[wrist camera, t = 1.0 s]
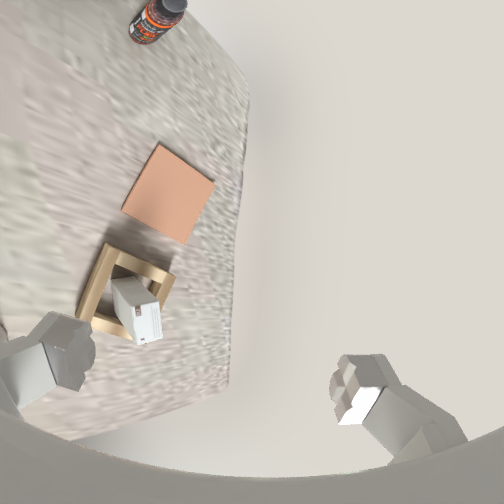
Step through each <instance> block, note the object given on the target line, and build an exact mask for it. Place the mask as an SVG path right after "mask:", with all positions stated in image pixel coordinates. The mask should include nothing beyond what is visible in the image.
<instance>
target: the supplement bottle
mask: <svg viewBox="0 0 504 504" xmlns="http://www.w3.org/2000/svg"><path fill="white" fill-rule="evenodd" d="M186 7H187V0H151V1H150V2H149V3H148V4H147V5H146V6H145V7H144V8H143V9H142V11H141V12H140V13H139V14H138V15H137V16H136V17H135V19H134V20H133V21H132V23H131V24H130V26H129V34H130V37H131V38H132V39H133V40H134V41H135V42H137V43H139V44H151V43H153V42H155V41H156V40H158V39H159V38H160V37H161V36H162V35H164V34H165V33H166V32H167V31H168V30H170V29H171V28H172V27H173V26H174V25H176V24H177V23H178V22H179V21H180V20H181V19H182V17H183V15H184V10H185V9H186Z"/></svg>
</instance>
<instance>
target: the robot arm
mask: <svg viewBox="0 0 504 504" xmlns="http://www.w3.org/2000/svg"><path fill="white" fill-rule="evenodd" d="M91 333H92V327H91V323H90V322H88V321H86V320H82V319H79V318H75V317H72V316H68V315H65V314H61V313H57V312H54V311H51V312H49V313H48V314H47V315H46V316H45V317H44V318H43V319H42V320H41V321H40V322H39V323H38V325H37V326H36V327H35V328H34V329H33V330H32V331H31V332H30V334H29V335H28V336H27V337H25V336H22V337H19V338H16V339H14V340H11V341H8V342H6V343H3V344H0V504H504V426H503V427H501V428H499V429H497V430H495V431H493V432H490V433H488V434H486V435H484V436H481V437H479V438H476V439H474V440H471V441H469V442H468V440H467V438H466V436H465V435H464V433H463V431H462V429H461V427H460V426H459V424H458V422H457V421H456V419H455V417H454V416H452V415H451V414H449V413H447V412H446V411H444V410H443V409H441V408H440V407H438V406H436V405H435V404H434V403H432V402H430V401H429V400H427V399H426V398H424V397H423V396H421V395H420V394H418V393H417V392H415V391H414V390H412V389H411V388H409V387H408V386H406V385H401V383H400V381H399V379H398V377H397V375H396V374H395V372H394V370H393V368H392V367H391V365H390V363H389V361H388V360H387V358H386V357H385V355H383V354H371V355H342V357H341V358H340V360H339V362H338V366H339V369H338V370H337V371H336V372H334V373H333V375H332V378H331V380H330V387H329V390H330V396H331V400H333V401H334V402H335V403H336V404H337V406H336V407H335V409H334V410H335V413H336V416H337V420H338V423H339V424H357V423H362V425H363V426H364V427H365V428H366V429H367V430H368V431H369V432H370V433H371V434H372V435H373V436H374V437H375V438H376V439H377V440H378V441H379V442H380V443H381V444H382V445H383V446H384V447H385V448H386V449H387V450H388V451H389V452H390V453H391V454H392V455H393V456H394V457H395V458H394V459H393V460H392V461H391V462H390V463H389V464H388V465H387V466H384V467H379V468H374V469H368V470H362V471H356V472H349V473H341V474H332V475H322V476H310V477H290V478H254V477H253V478H252V477H233V476H220V475H209V474H201V473H193V472H186V471H179V470H174V469H167V468H162V467H157V466H153V465H148V464H143V463H139V462H134V461H131V460H127V459H123V458H119V457H116V456H112V455H109V454H106V453H102V452H99V451H96V450H93V449H90V448H87V447H84V446H81V445H79V444H76V443H73V442H71V441H68V440H65V439H63V438H60V437H58V436H56V435H53V434H51V433H48V432H46V431H44V430H42V429H40V428H37V427H35V426H33V425H31V424H29V423H27V422H25V420H24V418H23V416H22V415H21V413H20V410H21V409H23V408H24V407H26V406H27V405H29V404H30V403H32V402H33V401H35V400H36V399H38V398H40V397H41V396H43V395H44V394H46V393H47V392H49V391H50V390H52V389H53V388H55V387H56V386H57V385H59V386H62V387H65V388H68V389H71V390H74V391H79V389H80V387H81V386H82V384H83V382H84V380H85V374H84V372H85V371H87V370H89V369H91V367H92V365H93V363H94V359H95V343H94V341H93V340H92V339H91V338H90V335H91Z"/></svg>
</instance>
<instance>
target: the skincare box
mask: <svg viewBox="0 0 504 504" xmlns="http://www.w3.org/2000/svg"><path fill="white" fill-rule="evenodd" d="M111 288H112V296H113V303H114V311H115V313H116V315H117V317H118V318H119V320H120V321H121V323H122V324H123V326H124V327H125V329H126V330H127V331H128V333H129V334H130V336H131V337H132V339H133V340H134V342H135V343H136V344H137V345H140V344H144V343H147V342H151V341H154V340H158V339H161V338H163V333H162V324H161V315H160V305H159V300H158V299H157V298H156V297H155V296H154V295H153V294H152V293H151V292H149V291H148V290H147V289H146V288H145V287H144V286H143V285H142V284H141V283H140V282H139V281H138V280H137V279H136V278H135V277H134V276H130V277H124V278H118V279H112V280H111Z"/></svg>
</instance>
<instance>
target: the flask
mask: <svg viewBox="0 0 504 504" xmlns="http://www.w3.org/2000/svg"><path fill="white" fill-rule="evenodd" d="M6 342H8V336H7V333H6V331H5V330H4V329H3V328H2V326H1V325H0V344H3V343H6Z"/></svg>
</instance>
